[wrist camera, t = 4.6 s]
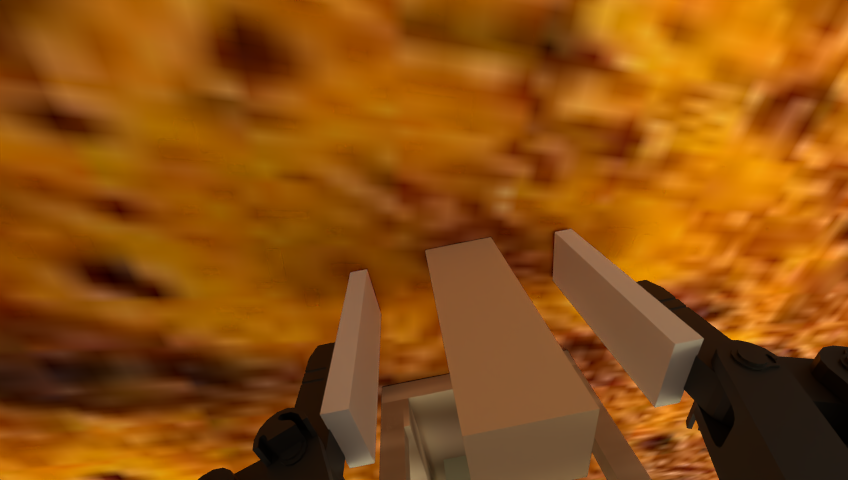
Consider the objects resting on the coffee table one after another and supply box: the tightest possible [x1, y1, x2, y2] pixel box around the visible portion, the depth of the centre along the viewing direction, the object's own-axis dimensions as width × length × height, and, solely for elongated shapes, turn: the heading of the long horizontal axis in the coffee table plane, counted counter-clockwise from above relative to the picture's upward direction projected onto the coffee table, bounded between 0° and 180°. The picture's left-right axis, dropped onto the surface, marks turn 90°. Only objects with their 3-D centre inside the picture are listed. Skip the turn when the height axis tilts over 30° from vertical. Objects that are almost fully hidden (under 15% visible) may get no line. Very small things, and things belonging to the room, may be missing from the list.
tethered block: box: [425, 237, 600, 480], centre depth 15 cm, size 22×6×8 cm, turn 10°
